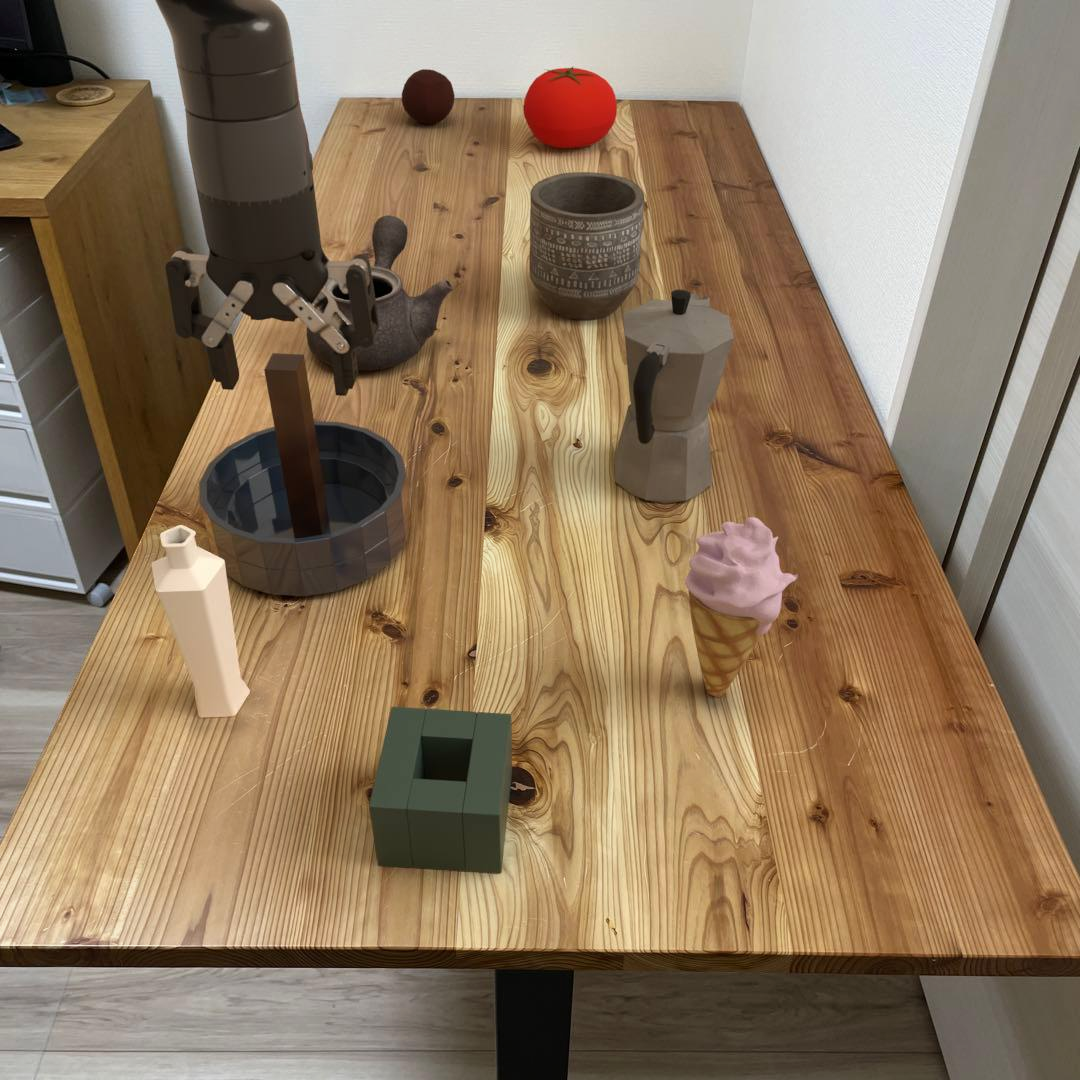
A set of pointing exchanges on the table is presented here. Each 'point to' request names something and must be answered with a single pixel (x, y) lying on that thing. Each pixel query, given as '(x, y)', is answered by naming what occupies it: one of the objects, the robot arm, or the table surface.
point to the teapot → (388, 306)
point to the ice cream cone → (733, 597)
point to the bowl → (265, 523)
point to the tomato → (570, 108)
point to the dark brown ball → (428, 96)
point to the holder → (443, 790)
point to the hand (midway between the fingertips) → (287, 387)
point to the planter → (585, 242)
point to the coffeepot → (671, 396)
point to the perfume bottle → (201, 621)
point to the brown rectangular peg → (297, 443)
